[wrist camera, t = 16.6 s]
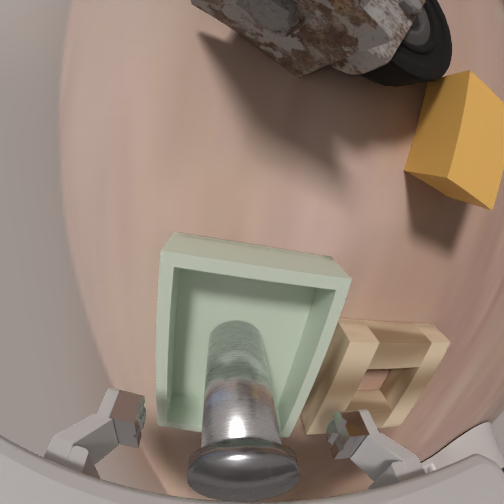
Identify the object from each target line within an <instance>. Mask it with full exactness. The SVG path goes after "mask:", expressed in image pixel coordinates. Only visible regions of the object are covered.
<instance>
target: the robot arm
mask: <svg viewBox="0 0 504 504" xmlns="http://www.w3.org/2000/svg"><path fill="white" fill-rule="evenodd" d="M144 403H145V398H144V396H142V395H138V394H134V393H130V392H126V391H123V390H119V389H115V388H111V387H109V388H108V389H107V391H106V393H105V396H104V398H103V401H102V403H101V405H100V407H99V410H98V412H97V414H94V413H93V414H91V415H90V416H88V417H86V418H85V419H83V420H81V421H79V422H78V423H76V424H74V425H72V426H71V427H69V428H67V429H65V430H63V431H61V432H60V433H58V434H56V435H54V436H53V438H52V441H51V443H50V445H49V447H48V449H47V451H46V453H45V455H44V457H41V456H39V455H37V454H35V453H33V452H31V451H29V450H27V449H25V448H23V447H21V446H19V445H17V444H15V443H13V442H11V441H10V440H8V439H6V438H5V437H3V436H1V435H0V504H504V455H503V453H502V451H501V449H500V447H499V444H498V442H497V439H496V437H495V434H494V431H493V428H492V424H491V422H485V423H482V424H480V425H478V426H476V427H474V428H473V429H471V430H469V431H468V432H466V433H465V434H463V435H462V436H460V437H459V438H457V439H456V440H454V441H453V442H452V443H450V444H449V445H448V446H446V447H445V448H444V449H442V450H441V451H440V452H438V453H437V454H436V455H434V456H433V457H431V458H429V459H427V460H426V461H424V462H422V463H420V461H419V459H418V457H417V456H416V455H415V454H413V453H411V452H410V451H408V450H407V449H405V448H404V447H402V446H401V445H399V444H398V443H396V442H395V441H393V440H392V439H390V438H389V437H387V436H386V435H384V434H383V433H381V434H380V433H379V431H378V429H377V427H376V425H375V423H374V421H373V419H372V417H371V415H370V413H369V411H368V410H367V409H363V410H349V411H337V412H336V413H335V414H334V415H333V419H334V420H333V421H331V422H330V423H329V424H328V426H327V430H326V437H327V440H328V442H329V443H331V444H332V446H331V448H330V450H331V453H332V456H333V459H345V458H350V459H351V460H352V461H353V462H354V463H355V464H356V465H357V466H358V467H359V468H360V469H361V470H362V471H364V472H365V473H366V474H367V475H368V476H369V477H370V478H371V479H372V480H373V481H374V482H373V483H372V484H371V485H370V486H369V487H368V489H367V490H366V491H361V492H356V493H351V494H345V495H339V496H333V497H326V498H318V499H309V500H298V501H283V502H227V501H212V500H201V499H192V498H184V497H177V496H171V495H165V494H159V493H154V492H148V491H144V490H139V489H135V488H131V487H127V486H123V485H119V484H116V483H112V482H109V481H105V480H101V479H100V476H99V474H98V472H97V470H96V468H95V466H94V465H95V464H96V463H97V462H99V461H100V460H101V459H102V458H104V457H105V456H106V455H107V454H108V453H110V452H111V451H112V450H113V449H114V448H116V447H117V446H118V445H119V444H122V445H126V446H131V447H136V448H139V444H140V440H141V430H142V429H143V428H144V423H145V416H146V410H145V407H144Z"/></svg>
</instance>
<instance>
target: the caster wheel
mask: <svg viewBox="0 0 504 504" xmlns="http://www.w3.org/2000/svg"><path fill="white" fill-rule="evenodd" d="M191 3H192V5H194V6H196V7H197V8H199V9H201V10H203V11H204V12H206V13H208V14H209V15H211V16H213V17H214V18H216V19H217V20H219V21H221V22H222V23H224V24H225V25H227V26H228V27H230V28H231V29H233V30H234V31H236V32H237V33H239V34H240V35H242V36H243V37H245V38H246V39H248V40H249V41H250V42H252V43H253V44H255V45H256V46H257V47H259V48H260V49H261V50H263V51H264V52H265V53H267V54H268V55H269V56H271V57H272V58H273V59H275V60H276V61H277V62H278V63H280V64H281V65H282V66H283V67H285V68H286V69H287V70H288V71H290V72H291V73H292V74H294V75H296V76H297V77H299V78H300V77H302V76H304V75H306V74H309V73H311V72H313V71H315V70H318V69H320V68H322V67H325V66H327V65H330V66H332V67H333V68H335V69H338V70H340V71H342V72H345V73H347V74H354V75H357V74H361V75H362V76H364V77H366V78H368V79H369V80H371V81H373V82H376V83H379V84H382V85H385V86H403V85H412V84H418V83H424V82H431V81H435V80H438V79H440V78H441V77H442V76H443V75H444V74H445V73H446V71H447V69H448V67H449V65H450V61H451V56H452V42H451V36H450V30H449V27H448V24H447V21H446V18H445V15H444V13H443V11H442V9H441V7H440V5H439V3H438V1H437V0H191Z"/></svg>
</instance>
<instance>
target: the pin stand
mask: <svg viewBox="0 0 504 504" xmlns="http://www.w3.org/2000/svg"><path fill="white" fill-rule="evenodd" d="M449 344H450V341H449V340H448V339H447V338H446V337H445V336H444V335H443V334H442V333H441V332H440V331H439V330H438V329H437V328H436V327H435V326H434V325H433V324H426V323H404V322H386V321H370V320H356V319H344V318H339V320H338V322H337V325H336V328H335V331H334V334H333V336H332V339H331V342H330V344H329V347H328V349H327V352H326V355H325V357H324V360H323V362H322V365H321V367H320V370H319V372H318V374H317V377H316V379H315V382H314V384H313V386H312V389H311V391H310V393H309V396H308V398H307V400H306V402H305V405H304V407H303V409H302V411H301V416H302V420H303V424H304V428H305V432H306V435H309V434H326V430H327V426H328V424H329V423H330V422H331V421H333V420H334V419H333V415H334V414H335V413H336V412H337V411H349V410H363V409H367V410H368V411H369V413H370V415H371V417H372V419H373V421H374V423H375V425H376V427H377V429H378V428H385V427H391V426H397V425H401V423H402V422H403V420H404V419H405V418H406V416H407V415H408V413H409V412H410V410H411V409H412V407H413V406H414V404H415V403H416V401H417V400H418V398H419V397H420V395H421V394H422V392H423V391H424V389H425V387H426V386H427V384H428V382H429V381H430V379H431V377H432V376H433V374H434V372H435V370H436V369H437V367H438V365H439V363H440V362H441V360H442V358H443V356H444V354H445V352H446V350H447V348H448V346H449ZM367 369H391V370H390V372H389V374H388V376H387V378H386V380H385V382H384V383H383V385H382V387H381V389H380V390H367V391H356V390H357V388H358V386H359V385H360V383H361V381H362V379H363V377H364V375H365V373H366V371H367Z"/></svg>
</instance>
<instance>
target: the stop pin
mask: <svg viewBox="0 0 504 504" xmlns="http://www.w3.org/2000/svg"><path fill="white" fill-rule="evenodd" d="M299 479H300V473H299V468H298V464H297V459H296V456H295V453H294V452H293V451H292V450H291V449H290V448H288V447H286V446H284V445H282V442H281V437H280V432H279V426H278V421H277V416H276V410H275V405H274V399H273V394H272V389H271V383H270V378H269V372H268V367H267V362H266V356H265V351H264V345H263V340H262V336H261V333H260V332H259V330H258V329H257V328H256V327H255V326H253V325H252V324H250V323H248V322H245V321H240V320H232V321H227V322H224V323H221V324H220V325H218V326H217V327H216V328H214V329H213V331H212V332H211V334H210V336H209V343H208V354H207V366H206V379H205V392H204V406H203V422H202V439H201V448H200V449H198V450H197V451H195V452H194V453H193V454H192V455H191V457H190V459H189V466H188V484H189V486H190V487H191V488H192V489H193V490H194V491H196V492H198V493H199V494H201V495H204V496H206V497H209V498H213V499H217V500H223V501H232V502H248V501H257V500H263V499H268V498H271V497H275V496H278V495H280V494H283V493H285V492H287V491H288V490H290V489H291V488H293V487H294V486H295V485H296V484H297V483H298V481H299Z"/></svg>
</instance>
